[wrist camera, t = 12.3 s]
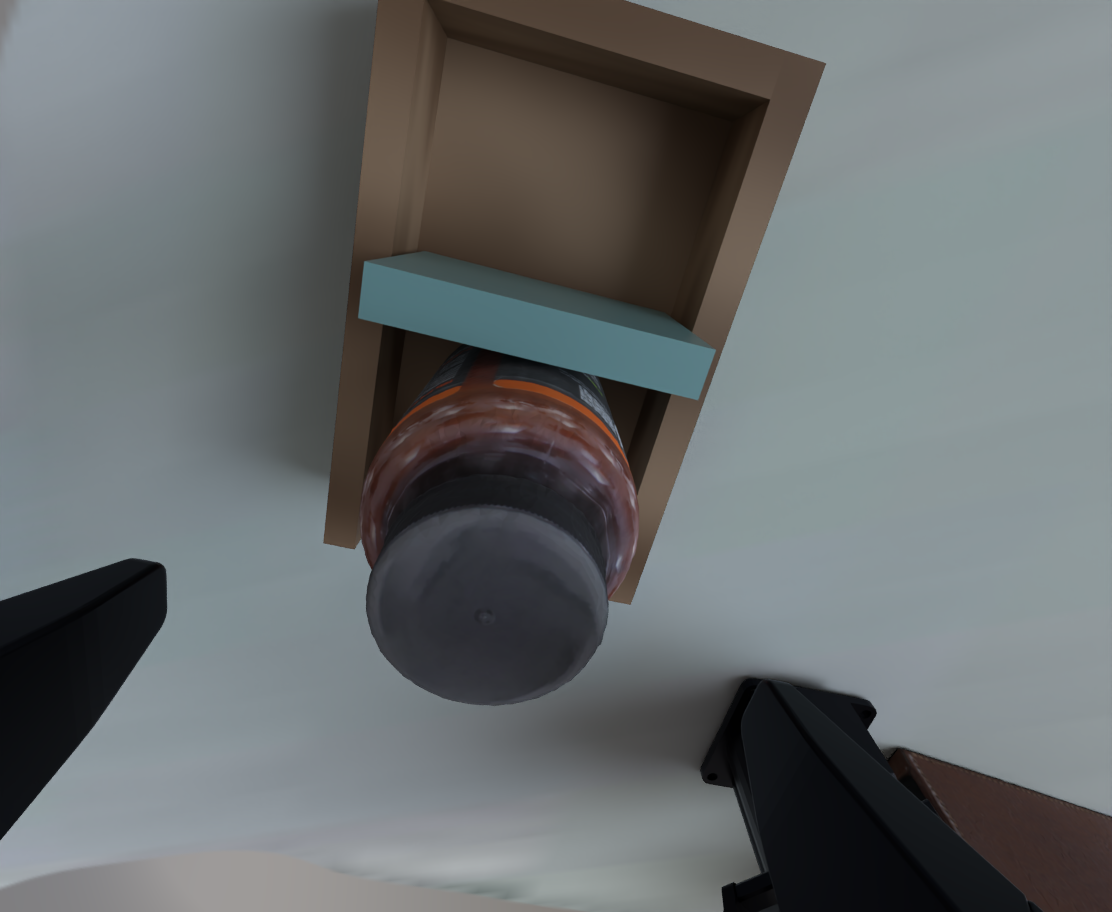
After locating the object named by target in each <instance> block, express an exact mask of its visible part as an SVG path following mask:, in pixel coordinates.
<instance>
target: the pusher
mask: <svg viewBox="0 0 1112 912" xmlns="http://www.w3.org/2000/svg"><path fill="white" fill-rule="evenodd" d="M358 318H360V319H364V320H368V321H372V322H376V323H380V324H384V325H389V326H393V327H397V328H401V329H405V330H409V331H413V332H418V333H422V334H426V335H430V336H434V337H438V338H442V339H447V340H451V341H455V342H459V343H463V344H467V345H471V346H475V347H480V348H484V349H488V350H492V351H496V352H500V353H504V354H509V355H513V356H517V357H521V358H525V359H529V360H533V361H538V362H542V363H546V364H550V365H554V366H558V367H562V368H567V369H571V370H575V371H579V372H583V373H587V374H591V375H595V376H600V377H604V378H608V379H612V380H616V381H620V382H624V383H629V384H633V385H637V386H641V387H645V388H649V389H653V390H658V391H662V392H666V393H670V394H674V395H678V396H682V397H686V398H691V399H695V400H698V399H699V396H700V393H701V391H702V388H703V385H704V382H705V379H706V377H707V374H708V371H709V368H710V365H711V363H712V360H713V357H714V354H715V351H716V350H715V349H714V348H713V347H711V346H710V345H709V344H707V343H706V342H705V341H703V340H702V339H700V338H699V337H698V336H696V335H695V334H694V333H692V332H691V331H689V330H688V329H687V328H685V327H684V326H683V325H681V324H680V323H678V322H677V321H676V320H674V319H673V318H672V317H670V316H669V315H667V314H666V313H665V312H661V311H657V310H653V309H649V308H645V307H641V306H637V305H633V304H630V303H626V302H622V301H618V300H614V299H610V298H606V297H602V296H598V295H594V294H591V293H587V292H583V291H579V290H575V289H571V288H567V287H563V286H559V285H555V284H552V283H548V282H544V281H540V280H536V279H532V278H528V277H524V276H520V275H517V274H513V273H509V272H505V271H501V270H497V269H493V268H489V267H485V266H481V265H478V264H474V263H470V262H466V261H462V260H458V259H454V258H450V257H446V256H442V255H439V254H435V253H431V252H427V251H422V252H416V253H410V254H404V255H398V256H392V257H387V258H381V259H375V260H369V261H364V269H363V278H362V287H361V296H360V305H359V314H358Z"/></svg>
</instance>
